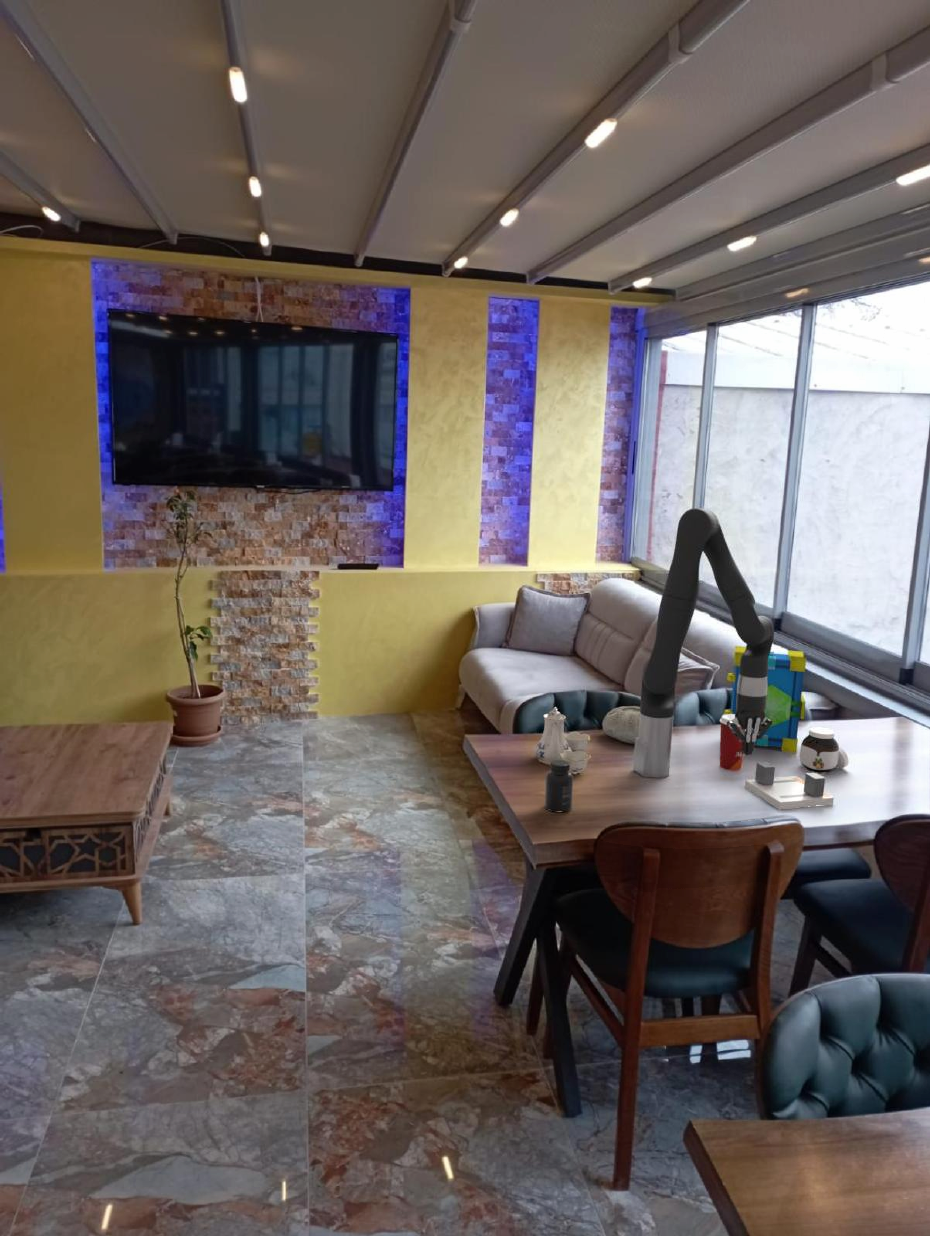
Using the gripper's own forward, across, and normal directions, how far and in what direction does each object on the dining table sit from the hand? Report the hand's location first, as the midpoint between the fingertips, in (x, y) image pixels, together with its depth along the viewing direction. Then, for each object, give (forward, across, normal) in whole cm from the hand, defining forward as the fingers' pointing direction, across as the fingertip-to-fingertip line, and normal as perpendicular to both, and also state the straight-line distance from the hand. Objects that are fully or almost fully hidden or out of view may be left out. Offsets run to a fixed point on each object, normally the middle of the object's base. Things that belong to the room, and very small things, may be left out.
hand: (747, 754), depth 237 cm
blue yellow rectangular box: (+11, +28, +35) cm, 46 cm away
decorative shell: (+10, -11, +47) cm, 49 cm away
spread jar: (+11, +34, +12) cm, 38 cm away
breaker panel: (+11, +10, -5) cm, 15 cm away
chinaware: (+10, -40, +32) cm, 52 cm away
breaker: (+9, +14, -10) cm, 19 cm away
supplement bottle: (+10, -54, 0) cm, 55 cm away
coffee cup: (+11, +7, +18) cm, 22 cm away
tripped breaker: (+8, +6, 0) cm, 10 cm away
